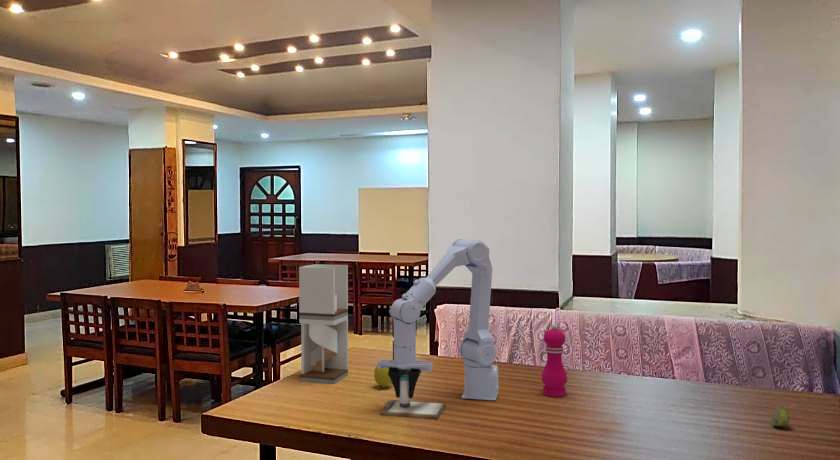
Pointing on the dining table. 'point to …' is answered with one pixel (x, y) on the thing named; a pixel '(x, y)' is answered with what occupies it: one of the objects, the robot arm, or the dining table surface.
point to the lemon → (382, 377)
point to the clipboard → (413, 409)
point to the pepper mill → (554, 363)
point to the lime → (780, 417)
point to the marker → (404, 391)
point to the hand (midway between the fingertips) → (404, 396)
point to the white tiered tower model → (323, 322)
